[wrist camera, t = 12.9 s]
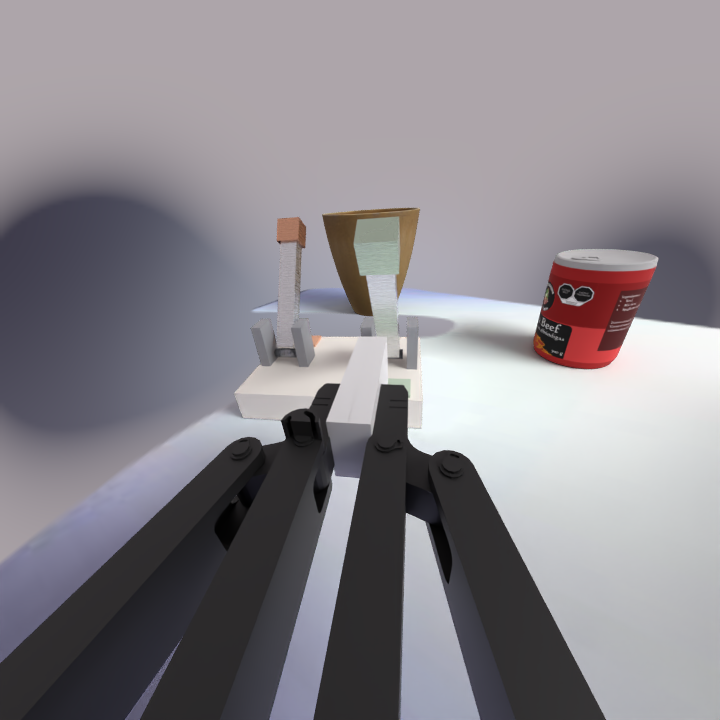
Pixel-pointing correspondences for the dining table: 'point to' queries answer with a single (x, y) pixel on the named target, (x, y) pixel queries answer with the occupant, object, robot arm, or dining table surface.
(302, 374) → the console
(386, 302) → the lever
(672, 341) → the dining table surface
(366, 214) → the plant pot
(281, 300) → the lever
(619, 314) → the canned food
